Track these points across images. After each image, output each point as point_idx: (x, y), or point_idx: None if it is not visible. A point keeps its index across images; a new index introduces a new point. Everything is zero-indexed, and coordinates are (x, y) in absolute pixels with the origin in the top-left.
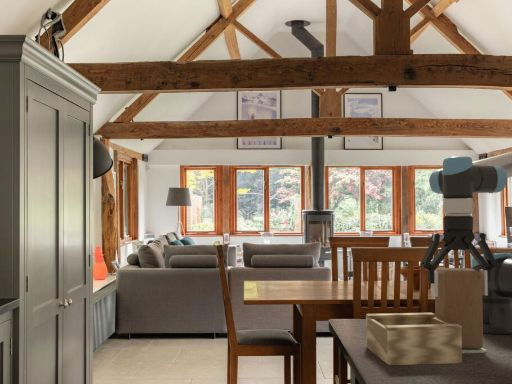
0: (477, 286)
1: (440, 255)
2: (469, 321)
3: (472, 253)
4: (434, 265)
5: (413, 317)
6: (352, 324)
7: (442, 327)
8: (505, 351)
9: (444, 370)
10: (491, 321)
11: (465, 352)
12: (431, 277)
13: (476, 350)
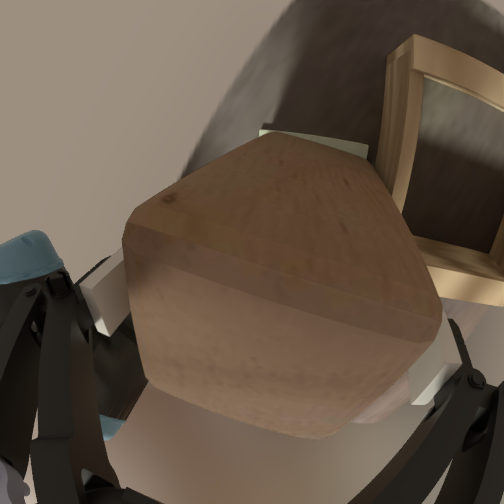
0: (213, 178)
1: (434, 485)
2: (298, 151)
3: (86, 428)
4: (470, 403)
5: (443, 264)
6: (377, 400)
7: (475, 60)
8: (208, 132)
9: (452, 29)
10: None
11: (322, 136)
12: (458, 343)
13: (289, 132)
